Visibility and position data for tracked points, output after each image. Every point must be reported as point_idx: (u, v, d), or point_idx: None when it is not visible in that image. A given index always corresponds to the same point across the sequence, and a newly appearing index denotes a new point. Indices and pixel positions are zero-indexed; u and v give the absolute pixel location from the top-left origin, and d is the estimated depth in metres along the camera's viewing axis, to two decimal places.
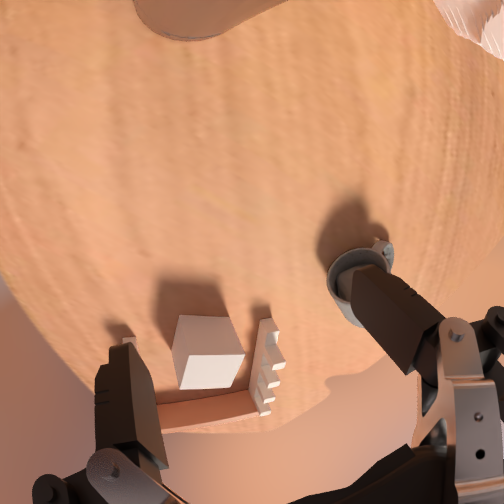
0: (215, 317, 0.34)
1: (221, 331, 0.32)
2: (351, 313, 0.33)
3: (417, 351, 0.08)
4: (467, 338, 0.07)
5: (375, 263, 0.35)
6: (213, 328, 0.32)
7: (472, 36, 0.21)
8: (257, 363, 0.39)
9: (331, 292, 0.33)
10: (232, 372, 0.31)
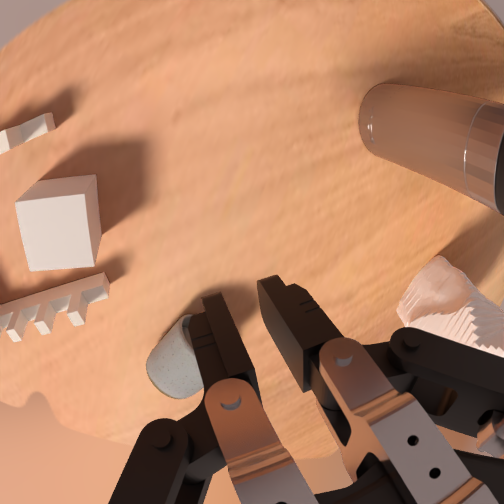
0: (99, 218, 0.26)
1: (96, 228, 0.24)
2: (174, 358, 0.29)
3: (306, 370, 0.08)
4: (353, 363, 0.07)
5: None
6: (96, 219, 0.24)
7: (409, 315, 0.44)
8: (45, 296, 0.26)
9: (180, 326, 0.30)
10: (58, 263, 0.21)
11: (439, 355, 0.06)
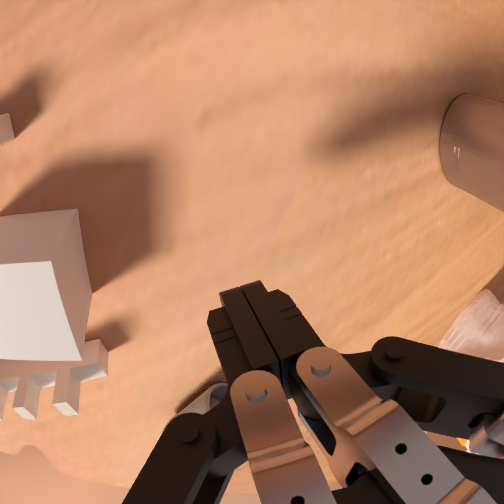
0: (87, 272, 0.17)
1: (82, 295, 0.15)
2: None
3: (285, 378, 0.08)
4: (331, 374, 0.07)
5: None
6: (80, 279, 0.15)
7: None
8: (25, 366, 0.17)
9: (208, 407, 0.22)
10: (29, 353, 0.12)
11: (424, 364, 0.06)
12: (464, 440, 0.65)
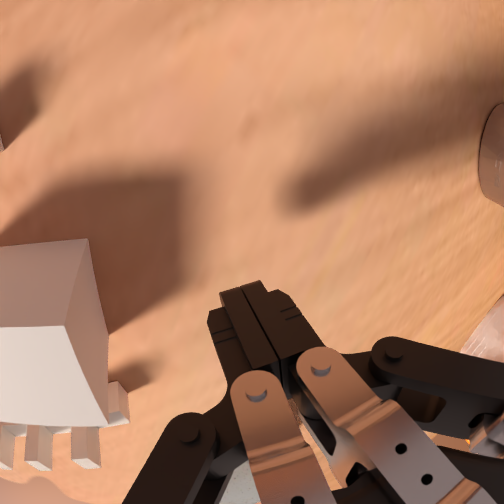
0: (102, 313, 0.14)
1: (99, 344, 0.12)
2: (236, 482, 0.18)
3: (285, 378, 0.08)
4: (331, 374, 0.07)
5: None
6: (97, 326, 0.12)
7: None
8: None
9: None
10: (43, 419, 0.09)
11: (424, 364, 0.06)
12: None
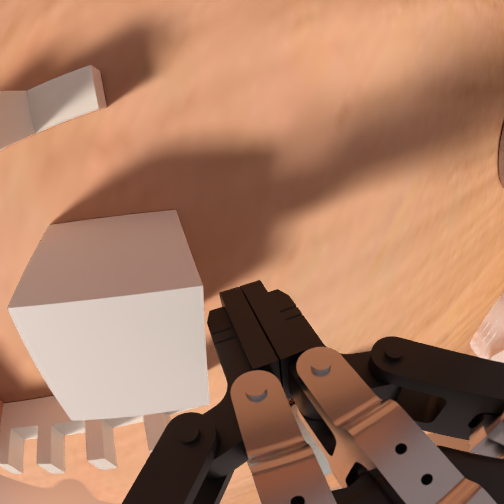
0: None
1: None
2: None
3: (285, 378, 0.08)
4: (331, 374, 0.07)
5: None
6: None
7: (488, 348, 0.34)
8: None
9: None
10: (133, 408, 0.10)
11: (424, 364, 0.06)
12: None
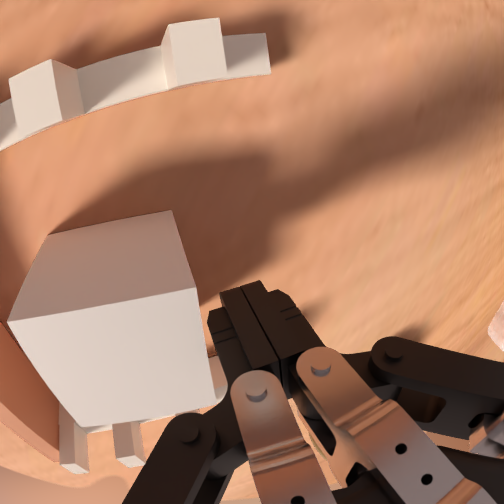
0: None
1: None
2: None
3: (285, 378, 0.08)
4: (331, 374, 0.07)
5: None
6: None
7: None
8: None
9: None
10: (140, 412, 0.10)
11: (424, 364, 0.06)
12: None
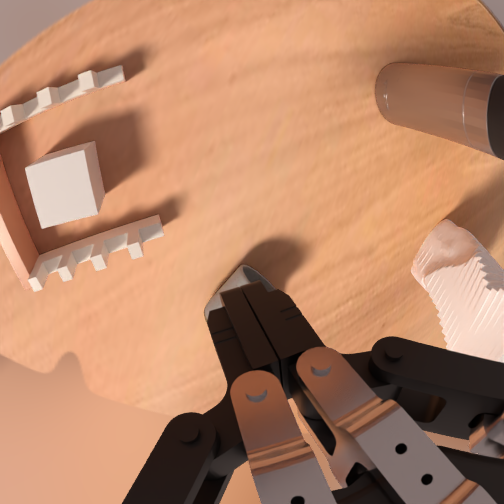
0: (101, 179, 0.28)
1: (98, 185, 0.27)
2: None
3: (285, 378, 0.08)
4: (331, 374, 0.07)
5: None
6: (98, 177, 0.27)
7: (423, 272, 0.48)
8: (99, 238, 0.30)
9: (242, 271, 0.36)
10: (66, 216, 0.24)
11: (424, 364, 0.06)
12: None
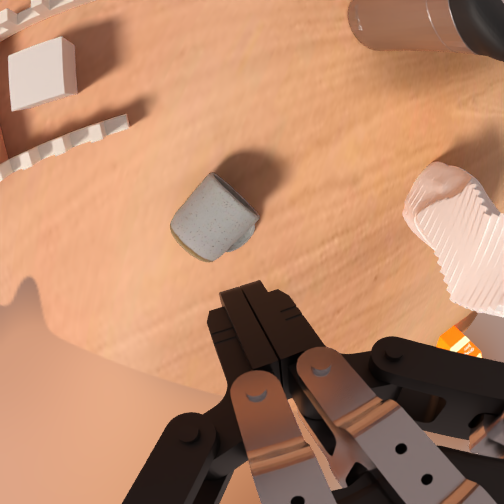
0: (76, 79, 0.25)
1: (71, 78, 0.23)
2: (203, 201, 0.31)
3: (285, 378, 0.08)
4: (331, 374, 0.07)
5: None
6: (72, 72, 0.23)
7: (416, 210, 0.45)
8: (65, 134, 0.26)
9: (212, 174, 0.32)
10: (35, 97, 0.20)
11: (424, 364, 0.06)
12: None
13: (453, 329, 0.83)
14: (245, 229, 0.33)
